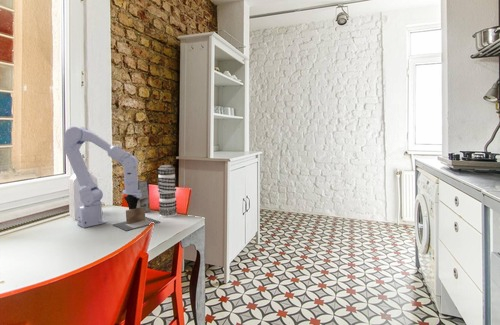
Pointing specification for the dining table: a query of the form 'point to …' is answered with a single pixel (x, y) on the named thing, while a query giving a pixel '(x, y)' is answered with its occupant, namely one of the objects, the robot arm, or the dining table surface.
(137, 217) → the walnut slab
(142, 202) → the coffee box
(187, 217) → the dining table surface
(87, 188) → the robot arm
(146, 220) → the charcoal mat
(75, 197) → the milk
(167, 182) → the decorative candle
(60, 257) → the dining table surface
